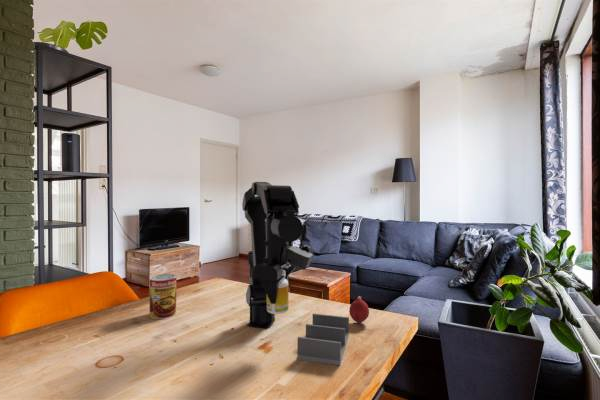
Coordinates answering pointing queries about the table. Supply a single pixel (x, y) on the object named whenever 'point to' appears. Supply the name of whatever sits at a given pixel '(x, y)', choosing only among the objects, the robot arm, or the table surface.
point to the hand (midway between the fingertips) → (277, 299)
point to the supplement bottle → (280, 298)
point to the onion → (359, 310)
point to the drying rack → (324, 339)
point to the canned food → (162, 296)
